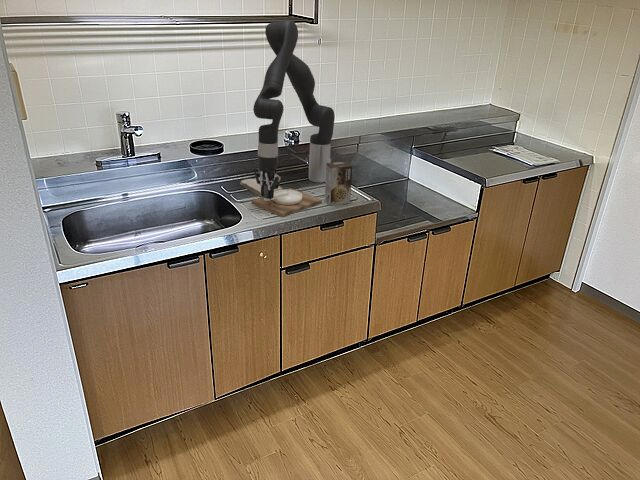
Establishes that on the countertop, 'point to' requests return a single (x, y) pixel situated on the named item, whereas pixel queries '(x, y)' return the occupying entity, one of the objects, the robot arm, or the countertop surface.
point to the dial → (283, 196)
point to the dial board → (287, 209)
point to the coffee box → (338, 183)
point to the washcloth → (254, 186)
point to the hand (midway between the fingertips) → (267, 196)
